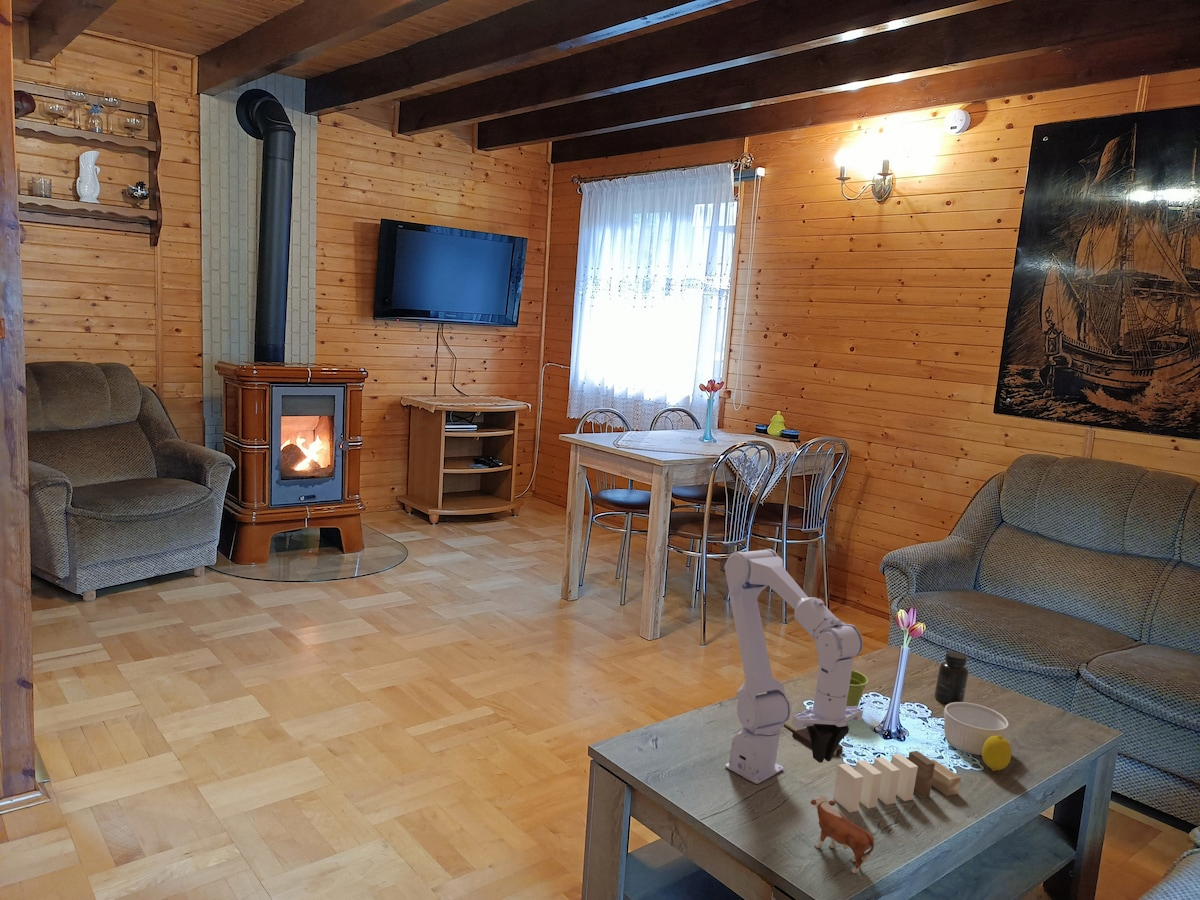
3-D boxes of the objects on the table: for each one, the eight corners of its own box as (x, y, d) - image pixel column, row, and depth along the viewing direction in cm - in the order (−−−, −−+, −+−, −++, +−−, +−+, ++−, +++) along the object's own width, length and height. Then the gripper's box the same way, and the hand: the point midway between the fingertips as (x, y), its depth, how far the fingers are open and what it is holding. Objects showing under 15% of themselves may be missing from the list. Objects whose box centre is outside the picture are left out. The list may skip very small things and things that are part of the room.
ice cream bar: (775, 727, 193) (827, 760, 181) (776, 720, 193) (828, 753, 181) (792, 723, 196) (844, 754, 184) (793, 716, 196) (845, 747, 184)
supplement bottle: (967, 708, 212) (976, 662, 210) (940, 705, 212) (948, 659, 210) (956, 695, 219) (964, 650, 217) (930, 692, 219) (937, 648, 217)
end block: (946, 795, 171) (949, 779, 170) (920, 777, 177) (923, 761, 177) (958, 793, 172) (960, 777, 172) (931, 774, 178) (934, 759, 178)
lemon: (1005, 780, 179) (1012, 745, 178) (977, 771, 182) (983, 735, 180) (1009, 769, 184) (1015, 735, 182) (981, 760, 186) (987, 726, 185)
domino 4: (904, 801, 168) (910, 767, 166) (886, 787, 172) (892, 755, 171) (912, 799, 169) (917, 766, 167) (894, 786, 173) (899, 753, 172)
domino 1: (849, 812, 162) (855, 778, 161) (833, 798, 166) (838, 764, 165) (858, 810, 163) (863, 776, 162) (841, 796, 167) (846, 763, 166)
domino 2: (868, 808, 164) (873, 774, 163) (851, 794, 168) (856, 761, 167) (876, 806, 165) (882, 773, 164) (859, 793, 169) (864, 760, 168)
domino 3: (886, 804, 166) (892, 771, 165) (869, 791, 170) (874, 758, 169) (894, 803, 167) (900, 769, 165) (877, 789, 171) (882, 756, 170)
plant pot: (815, 710, 203) (821, 675, 201) (830, 697, 211) (835, 664, 209) (855, 724, 198) (860, 689, 196) (868, 710, 205) (873, 676, 204)
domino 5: (921, 797, 170) (927, 764, 168) (904, 784, 174) (909, 752, 173) (929, 795, 170) (935, 763, 169) (911, 782, 175) (916, 750, 173)
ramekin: (942, 751, 189) (947, 721, 188) (936, 724, 202) (941, 696, 201) (1008, 765, 186) (1013, 735, 185) (997, 737, 198) (1003, 708, 197)
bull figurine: (815, 828, 156) (821, 787, 154) (874, 873, 145) (882, 829, 143) (797, 835, 153) (804, 792, 152) (856, 881, 142) (864, 836, 141)
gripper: (814, 704, 151) (803, 776, 153) (878, 695, 157) (867, 764, 159) (789, 686, 157) (779, 756, 159) (852, 679, 163) (841, 745, 165)
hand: (821, 759), depth 160 cm, fingers closed
